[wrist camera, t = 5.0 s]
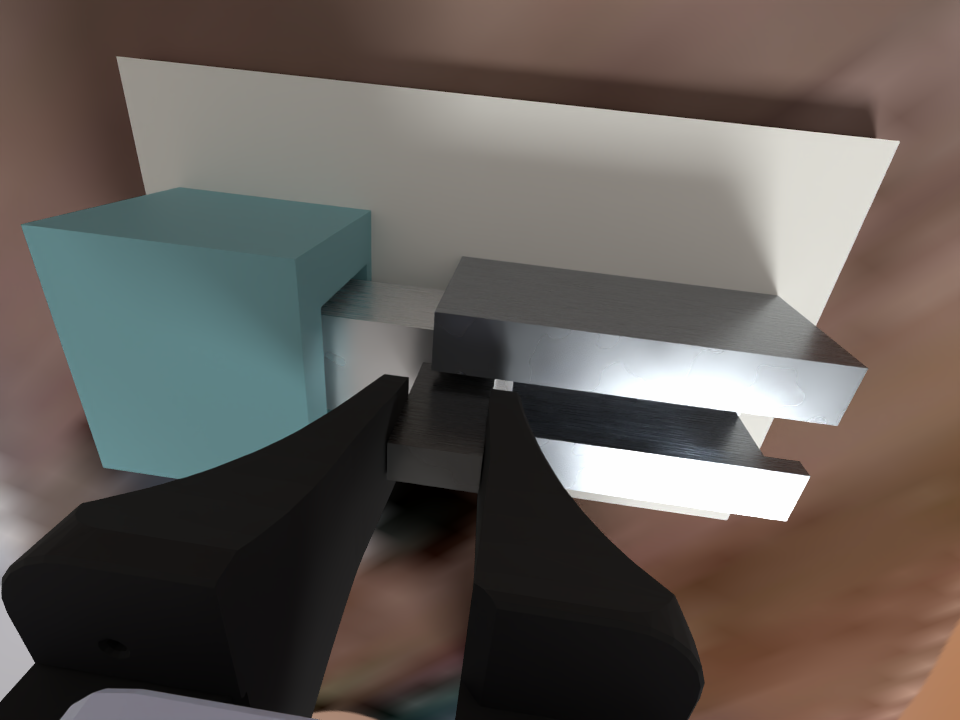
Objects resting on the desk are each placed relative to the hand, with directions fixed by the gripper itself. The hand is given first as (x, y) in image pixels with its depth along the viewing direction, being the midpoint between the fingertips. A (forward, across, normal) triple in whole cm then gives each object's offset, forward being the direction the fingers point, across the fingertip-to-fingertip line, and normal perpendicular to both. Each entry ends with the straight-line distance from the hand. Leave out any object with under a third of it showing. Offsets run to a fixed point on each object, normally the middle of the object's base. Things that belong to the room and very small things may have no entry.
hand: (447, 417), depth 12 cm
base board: (+7, 0, 0) cm, 7 cm away
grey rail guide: (+6, -4, 0) cm, 7 cm away
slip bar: (+5, +4, 0) cm, 6 cm away
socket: (+6, +7, 0) cm, 9 cm away
